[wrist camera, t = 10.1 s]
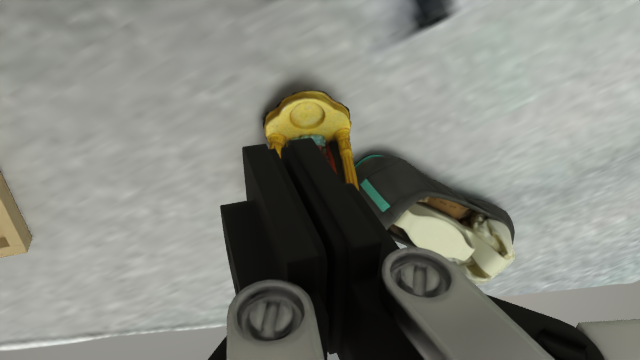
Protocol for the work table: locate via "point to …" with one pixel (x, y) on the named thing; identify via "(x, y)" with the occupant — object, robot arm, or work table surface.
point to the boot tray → (11, 225)
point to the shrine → (314, 128)
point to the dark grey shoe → (437, 217)
